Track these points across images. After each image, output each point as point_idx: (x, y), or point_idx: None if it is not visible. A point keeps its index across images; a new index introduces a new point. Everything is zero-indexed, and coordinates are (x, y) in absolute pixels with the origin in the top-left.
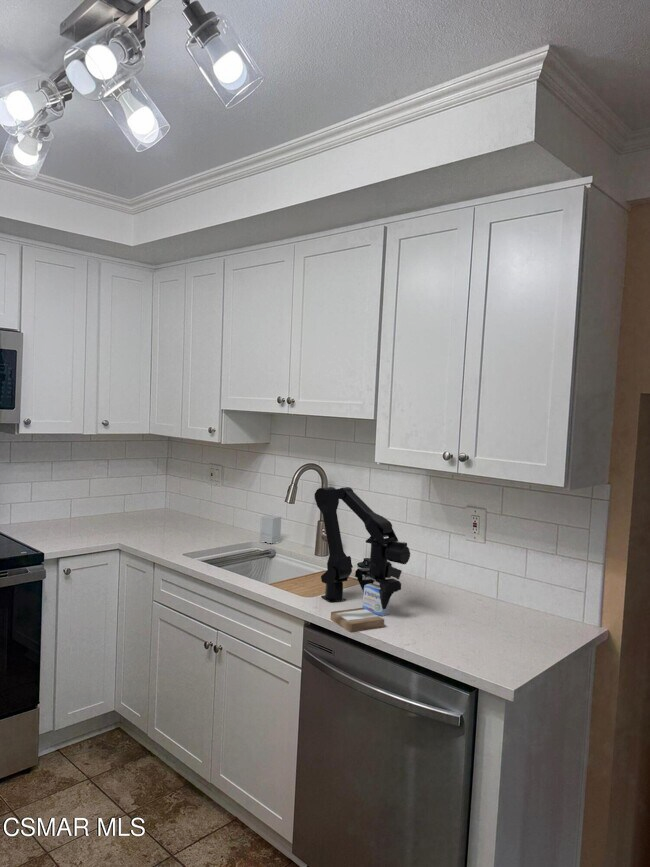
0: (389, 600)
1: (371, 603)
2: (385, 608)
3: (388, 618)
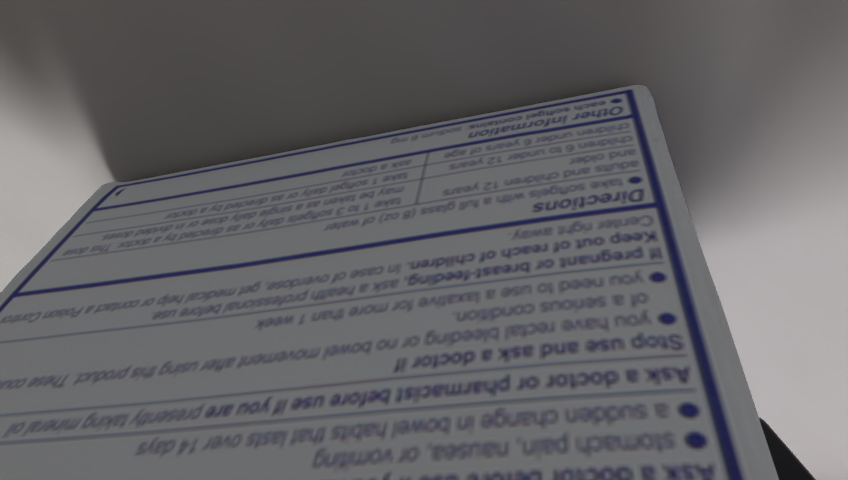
0: (731, 345)
1: None
2: (763, 428)
3: (838, 293)
